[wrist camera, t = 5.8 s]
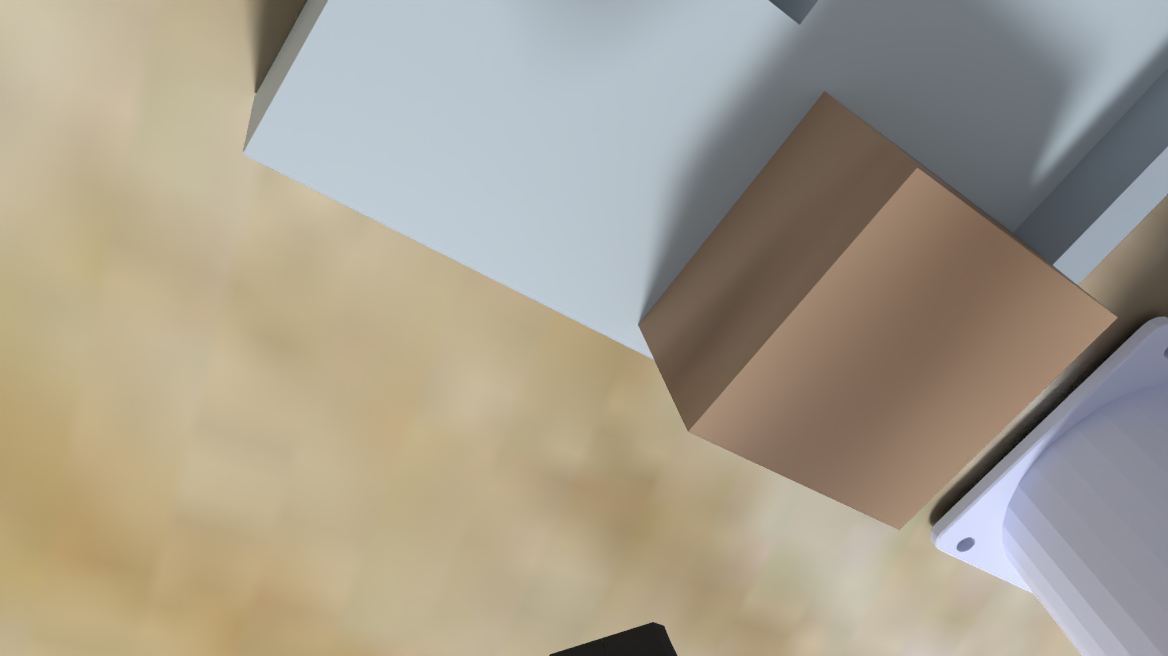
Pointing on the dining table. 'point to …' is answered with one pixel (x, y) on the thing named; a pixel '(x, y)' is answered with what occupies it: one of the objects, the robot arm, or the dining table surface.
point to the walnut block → (862, 322)
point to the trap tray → (704, 123)
